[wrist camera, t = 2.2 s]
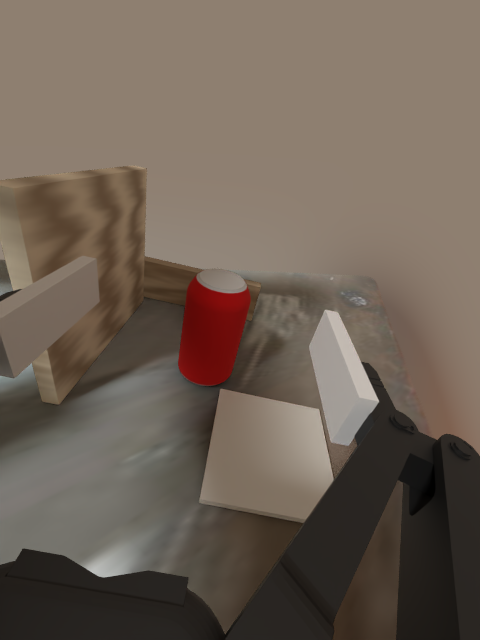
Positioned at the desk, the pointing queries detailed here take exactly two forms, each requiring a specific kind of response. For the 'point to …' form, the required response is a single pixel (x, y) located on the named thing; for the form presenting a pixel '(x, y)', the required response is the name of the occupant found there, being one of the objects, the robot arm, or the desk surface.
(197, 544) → the desk surface
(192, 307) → the beverage can
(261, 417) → the felt pad
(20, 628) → the robot arm
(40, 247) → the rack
